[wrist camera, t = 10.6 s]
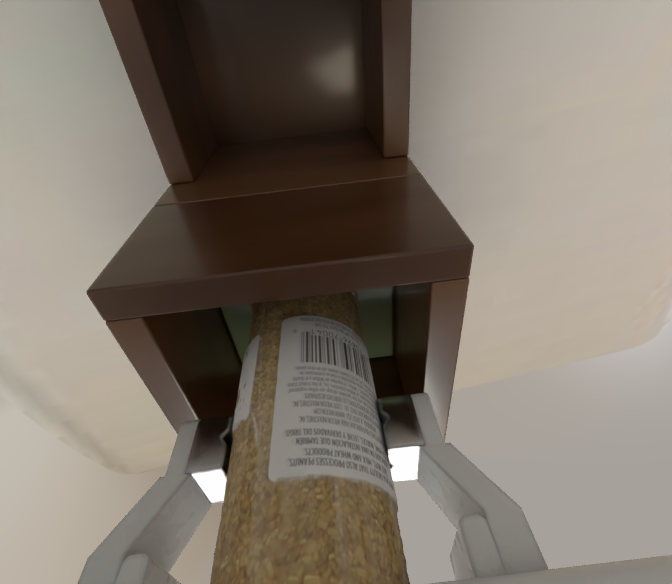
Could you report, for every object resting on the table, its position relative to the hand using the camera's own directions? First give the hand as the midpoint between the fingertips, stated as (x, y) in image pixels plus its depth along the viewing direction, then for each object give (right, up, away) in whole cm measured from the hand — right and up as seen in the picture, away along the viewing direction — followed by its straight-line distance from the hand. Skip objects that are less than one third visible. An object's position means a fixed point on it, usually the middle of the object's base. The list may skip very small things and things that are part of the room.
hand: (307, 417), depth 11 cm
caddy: (-1, +11, +9) cm, 14 cm away
